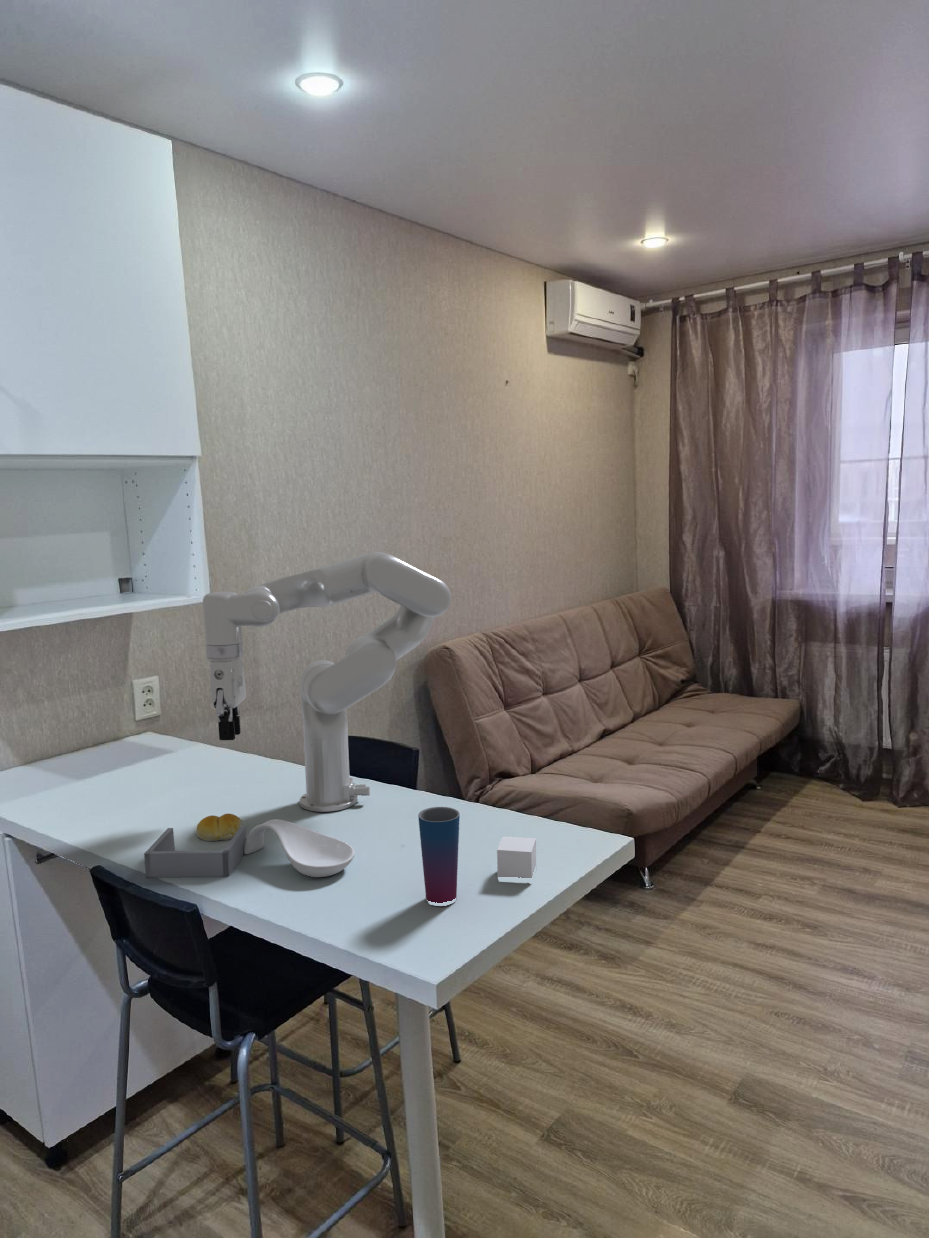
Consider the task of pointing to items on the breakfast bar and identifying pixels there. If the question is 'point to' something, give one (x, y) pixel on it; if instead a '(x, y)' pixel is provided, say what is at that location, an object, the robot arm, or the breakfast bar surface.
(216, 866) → the box
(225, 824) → the bread roll
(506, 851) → the white cube
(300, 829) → the spoon rest
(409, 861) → the breakfast bar surface
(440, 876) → the cup
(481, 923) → the breakfast bar surface
